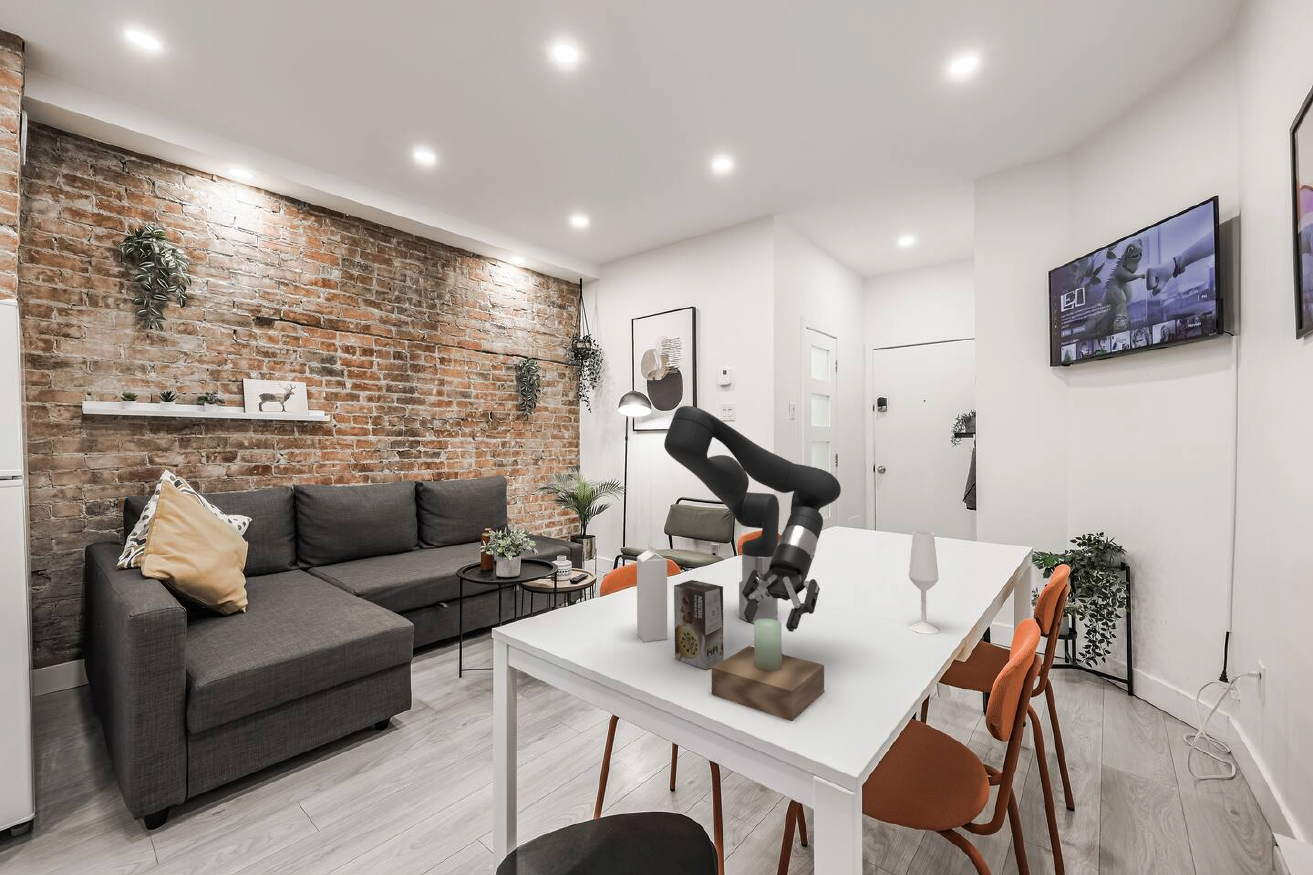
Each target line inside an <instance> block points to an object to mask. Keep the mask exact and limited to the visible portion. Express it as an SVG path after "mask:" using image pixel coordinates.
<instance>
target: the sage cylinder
mask: <svg viewBox="0 0 1313 875" xmlns="http://www.w3.org/2000/svg"><path fill="white" fill-rule="evenodd" d="M753 624H754V628H753V629H754V630H753V631H754V632H753V634H754V637H753V638H754V639H753V640H754V641H753V642H754V643H753V644H754V646H753V647H754V665H755V667H756V668H758V669H760V670H764V671H777V670H780V669H781V668H782V653H783V652H782V651H783V650H782V648H783V647H782V646H783V644H782V637H783V636H782V622H781V621H779V620H774V619H758V620H755V621H754V623H753Z"/></svg>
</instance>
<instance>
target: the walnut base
mask: <svg viewBox="0 0 1313 875" xmlns="http://www.w3.org/2000/svg"><path fill="white" fill-rule="evenodd" d="M823 693H825V664H822V663H818V662H815V661H810V660H806V659H804V658H803V659H802V658H798V657H794V656H790V655H786V654H782V668H781V669H780V670H777V671H764V670H760V669H758V668H756V667H755V665H754V646H751V645H748V646H746V647H744V648H742V649H740V650H739V651H737V652H736V653H734V654H732V655H730V656H729V657H727V658H724V660H723V661H722V662H720V663H718V664H716V665H715V666H713V667H711V695H712V694H713V695H712V696H716V697H719V698H721V699H724V700H728V701H730V702H734V703H737V704H739V705H742V706H746V707H748V708H752V709H754V710H758V711H761V712H764V713H765V714H770V715H772V714H774V715H773V716H775V715H776V716H775V717H778V716H779V718H781V717H782V719H784V720H788V721H791V722H793V720H794V719H795V720H796V718H797V717H798V716H799V715H800V714H802V713H803V712H804V711H805V710H806V709H807V708H808V707H809V706H810V705H812V703H814V702H815V701H816V700H817V699H818V698H819V697H820V696H821V695H822V694H823Z"/></svg>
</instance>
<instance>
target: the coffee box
mask: <svg viewBox="0 0 1313 875" xmlns="http://www.w3.org/2000/svg"><path fill="white" fill-rule="evenodd" d="M673 608H674V610H673V613H674V614H673V615H674V621H673V622H674V660H677V661H680V662H683V663H686V664H688V665H692V666H695V667H698V668H700V669H703V670H709V669H712V667H713V666H715V665H716V664H718V663H720V662H722V661H723V660H725V658H724V656H725V655H724V653H725V652H724V586H723V585H722V586H721V585H717V584H713V583H709V582H704V581H699V580H693V579H691V580H687V581H684V582H681V583H678V584H674V585H673Z"/></svg>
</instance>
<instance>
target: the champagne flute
mask: <svg viewBox="0 0 1313 875" xmlns="http://www.w3.org/2000/svg"><path fill="white" fill-rule="evenodd" d="M908 577H909V579H910V581H911V583H912V584H913V585H914V586H915V587H916V588H918V590H920V598H921V600H920V603H921V604H920V610H921V613H920V615H921V616H920V617H921V618H920V619H921V620H920V621H919V622H917V623H915V624H911V625H910V626H909V630H911V631H913V632H915V633H919V634H924V635H925V634H926V635H927V634H928V635H934V634H938V633H939V632H940V631H939V629H937V628H936V627H934V626H933V625H931V624H930V622H927V591H928V590H930V589H932V588H933V587H934V586H936V584H937V583H938V581H939V578H940V577H939V568H938V560H937V550H936V540H935V533H934V532H932V531H918V530H917V531H912V538H911V550H910V560H909V571H908Z"/></svg>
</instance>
